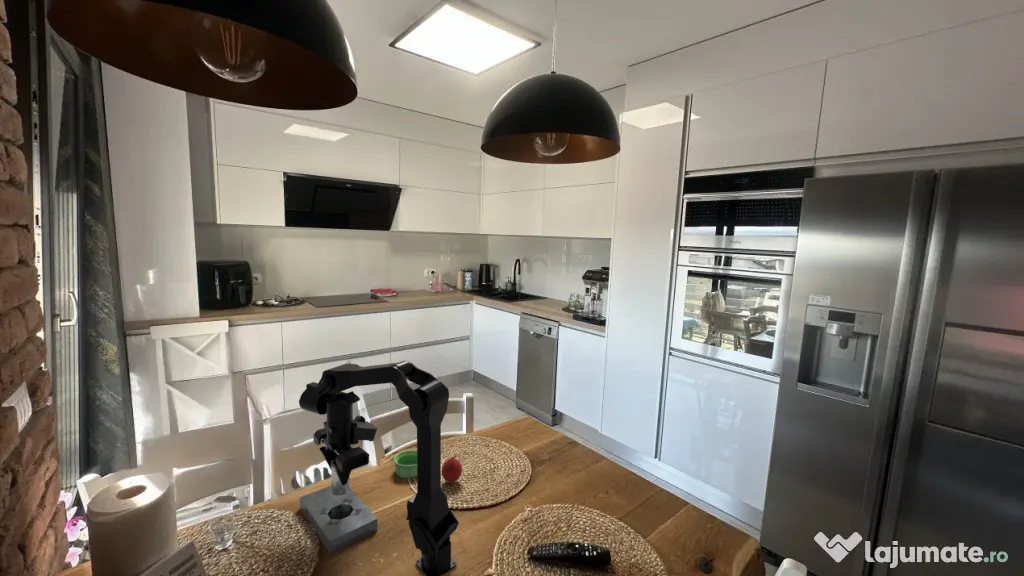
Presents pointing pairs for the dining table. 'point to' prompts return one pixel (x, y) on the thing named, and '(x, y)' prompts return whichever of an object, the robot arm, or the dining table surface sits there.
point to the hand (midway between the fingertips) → (340, 480)
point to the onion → (451, 470)
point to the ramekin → (406, 464)
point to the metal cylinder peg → (338, 482)
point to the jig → (328, 506)
